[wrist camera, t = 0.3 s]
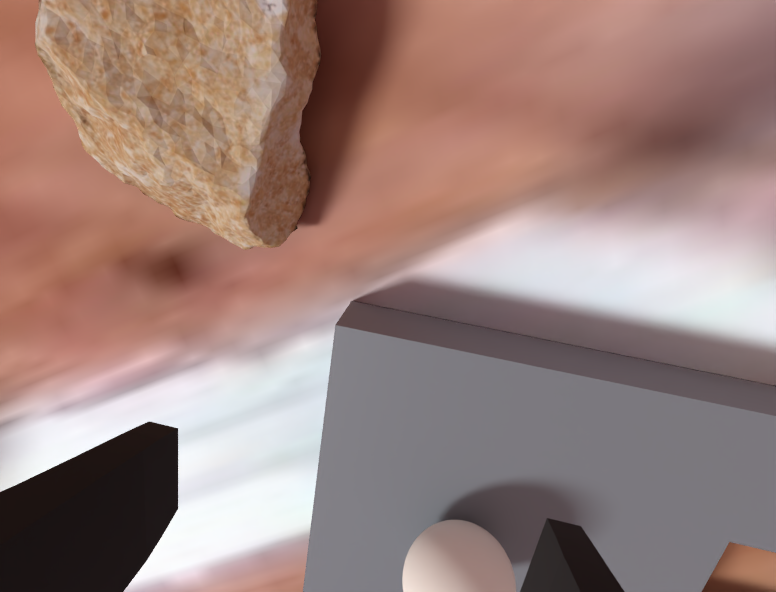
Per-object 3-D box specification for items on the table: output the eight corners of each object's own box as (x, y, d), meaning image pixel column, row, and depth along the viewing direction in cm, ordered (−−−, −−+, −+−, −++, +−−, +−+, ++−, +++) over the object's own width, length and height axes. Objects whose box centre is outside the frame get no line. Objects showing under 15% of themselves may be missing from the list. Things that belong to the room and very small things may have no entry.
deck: (799, 709, 22) (840, 779, 19) (314, 582, 24) (298, 630, 21) (1011, 433, 16) (1106, 484, 14) (351, 300, 18) (335, 325, 16)
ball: (497, 583, 19) (505, 695, 15) (401, 559, 19) (386, 663, 15) (521, 510, 17) (537, 612, 13) (418, 485, 18) (406, 578, 14)
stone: (354, -55, 14) (309, -134, 10) (299, 253, 18) (249, 288, 14) (112, -114, 15) (-26, -212, 11) (107, 197, 19) (2, 215, 14)
